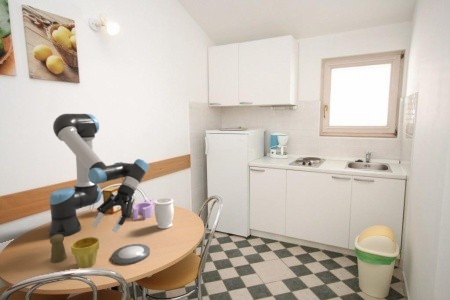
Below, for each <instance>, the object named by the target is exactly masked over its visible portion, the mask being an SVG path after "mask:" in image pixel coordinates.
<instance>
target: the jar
mask: <svg viewBox="0 0 450 300" xmlns="http://www.w3.org/2000/svg"><path fill="white" fill-rule="evenodd" d="M173 202H174V199H173V198H170V197H163V198H159V199H156V200H154V204H155V206H154V215H155V216H154V217H155V220H156V222H157V228H158V229H162V230H163V229H164V230H165V229H169V228H172V227H173V219H174V214H175V211H174V204H173Z"/></svg>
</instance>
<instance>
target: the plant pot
mask: <svg viewBox="0 0 450 300" xmlns="http://www.w3.org/2000/svg"><path fill="white" fill-rule="evenodd" d="M99 248H100V239H99V238H97V237H94V236H89V237H82V238H80V239H77V240H76V241H74V242H72V243H71V245H70V250H71V254H72V255H73V256H74V259H75V262H76V264H77V267H78V268H79V269H87V268H88V269H89V268H90V267H93V265H95V264H96V262H97V255H98V250H99Z"/></svg>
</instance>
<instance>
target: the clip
mask: <svg viewBox="0 0 450 300" xmlns="http://www.w3.org/2000/svg"><path fill="white" fill-rule="evenodd" d="M154 202H155V200H154V199H152V198H151V199H149V201H147V199H142V200H140V202H137V203H134V204H133V206H132V218H133V219H132V220H133V221H136V220H138V219H139V214H142V219H143V220H144V221H145V220H147V219H149V218H152V217H153V216H154V212H155V206H154V204H155V203H154Z"/></svg>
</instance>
